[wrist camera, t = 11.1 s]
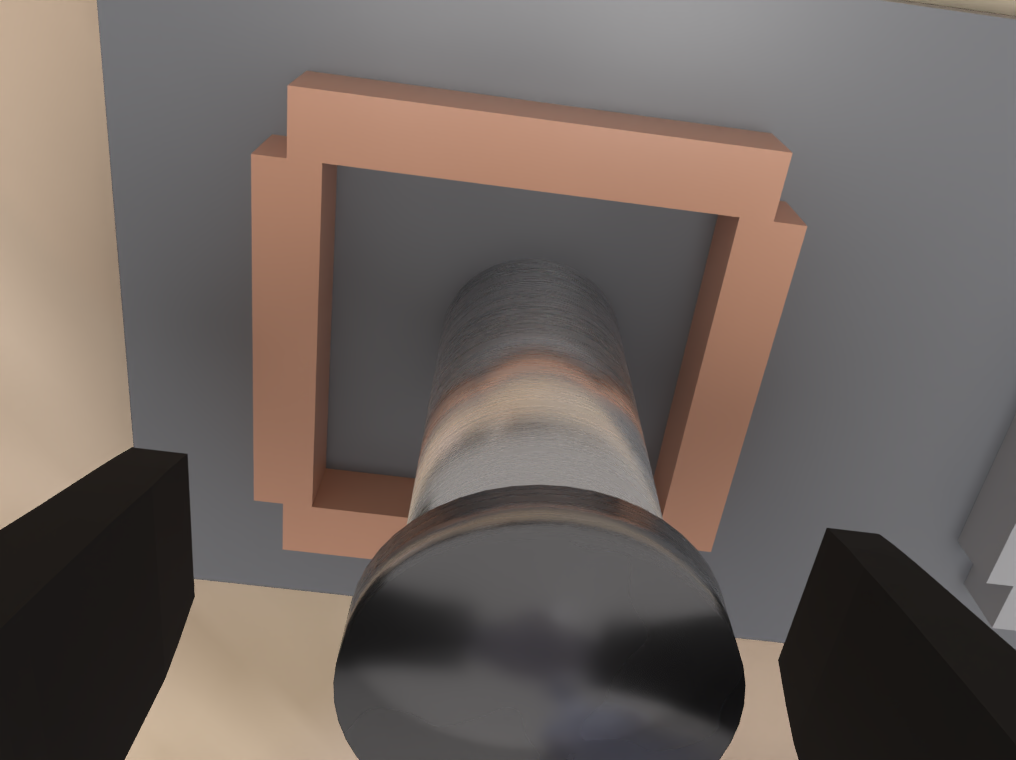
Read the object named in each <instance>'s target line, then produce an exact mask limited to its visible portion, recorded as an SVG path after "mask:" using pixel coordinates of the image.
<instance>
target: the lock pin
mask: <svg viewBox="0 0 1016 760" xmlns="http://www.w3.org/2000/svg"><path fill="white" fill-rule="evenodd" d="M333 684H334V703H335V708H336V712H337V717H338V721H339V724H340V726H341V729H342V731H343V733H344V736H345V738H346V740H347V742H348V744H349V745H350V747H351V748H352V750H353V752H354V753H355V755H356V757H357V758H358V759H359V760H719V759H720V758H721V756H722V755H723V753H724V752H725V750H726V749H727V747H728V746H729V744H730V743H731V741H732V739H733V736H734V734H735V732H736V730H737V727H738V725H739V722H740V718H741V714H742V711H743V707H744V697H745V678H744V669H743V663H742V660H741V657H740V653H739V650H738V646H737V643H736V640H735V636H734V633H733V629H732V626H731V623H730V619H729V616H728V612H727V609H726V606H725V602H724V599H723V596H722V592H721V589H720V586H719V584H718V582H717V580H716V578H715V576H714V574H713V572H712V570H711V568H710V566H709V565H708V564H707V562H706V561H705V559H704V558H703V557H702V555H701V554H700V553H699V551H698V550H697V549H696V548H695V547H694V546H693V545H692V544H691V543H690V542H689V541H688V540H687V539H686V538H685V537H684V536H683V535H682V534H681V533H680V532H678V531H677V530H676V529H675V528H673V527H672V526H671V525H669V524H668V523H667V522H665V521H664V520H663V517H662V513H661V509H660V505H659V500H658V496H657V492H656V487H655V483H654V479H653V475H652V470H651V466H650V462H649V457H648V453H647V449H646V444H645V440H644V436H643V432H642V427H641V423H640V419H639V414H638V410H637V406H636V402H635V397H634V393H633V389H632V384H631V380H630V376H629V372H628V367H627V363H626V359H625V354H624V350H623V346H622V342H621V337H620V333H619V329H618V324H617V321H616V317H615V314H614V311H613V309H612V307H611V305H610V303H609V301H608V300H607V298H606V297H605V295H604V294H603V292H602V291H601V290H600V289H599V288H598V287H597V286H596V284H594V283H593V282H592V281H591V280H590V279H589V278H587V277H586V276H585V275H583V274H581V273H580V272H578V271H577V270H575V269H573V268H570V267H568V266H566V265H563V264H560V263H557V262H553V261H548V260H542V259H520V260H514V261H509V262H505V263H502V264H499V265H495V266H493V267H491V268H489V269H487V270H485V271H483V272H482V273H480V274H478V275H477V276H475V277H474V278H473V279H472V280H470V281H469V282H468V283H467V284H466V285H465V286H464V287H463V288H462V289H461V290H460V291H459V293H458V294H457V295H456V297H455V298H454V300H453V301H452V303H451V305H450V307H449V309H448V311H447V314H446V317H445V320H444V325H443V330H442V336H441V341H440V346H439V352H438V357H437V363H436V368H435V374H434V379H433V385H432V390H431V395H430V401H429V406H428V412H427V417H426V423H425V428H424V434H423V439H422V444H421V450H420V455H419V461H418V466H417V472H416V477H415V483H414V488H413V493H412V499H411V504H410V510H409V515H408V521H407V525H406V526H405V527H403V528H402V529H401V530H399V531H398V532H397V533H395V534H394V535H393V536H392V537H391V538H390V539H389V540H388V541H387V542H386V543H385V544H384V545H383V546H382V547H381V548H380V549H379V550H378V552H377V553H376V554H375V556H374V557H373V558H372V560H371V561H370V562H369V564H368V565H367V566H366V568H365V570H364V572H363V574H362V576H361V578H360V580H359V582H358V584H357V586H356V589H355V592H354V595H353V598H352V601H351V605H350V609H349V613H348V617H347V621H346V626H345V630H344V634H343V638H342V642H341V646H340V650H339V654H338V658H337V663H336V669H335V676H334V683H333Z"/></svg>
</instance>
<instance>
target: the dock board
mask: <svg viewBox="0 0 1016 760" xmlns="http://www.w3.org/2000/svg"><path fill="white" fill-rule="evenodd" d="M97 7H98V20H99V32H100V44H101V56H102V68H103V80H104V92H105V104H106V116H107V129H108V141H109V153H110V165H111V177H112V189H113V201H114V213H115V225H116V238H117V250H118V262H119V274H120V286H121V298H122V310H123V322H124V334H125V346H126V359H127V371H128V383H129V395H130V407H131V419H132V431H133V443H134V448H142V449H151V450H160V451H168V452H177V453H185V454H188V470H189V491H190V512H191V533H192V553H193V574H194V579H201V580H210V581H219V582H228V583H237V584H247V585H256V586H265V587H274V588H283V589H293V590H302V591H311V592H320V593H329V594H339V595H348V596H353V595H354V592H355V589H356V586H357V584H358V582H359V580H360V578H361V576H362V574H363V572H364V570H365V568H366V566H367V565H368V564H369V562H370V561H371V560H372V558H373V557H374V556H375V554H376V553H377V552H378V550H379V549H380V548H381V547H382V546H383V545H384V544H385V543H386V542H387V541H388V540H389V539H390V538H391V537H392V536H393V535H394V534H395V533H397V532H398V531H399V530H401V529H402V528H403V527H405V526H406V525H407V521H408V515H409V510H410V504H411V499H412V493H413V488H414V483H415V477H416V472H417V466H418V461H419V455H420V450H421V444H422V439H423V434H424V428H425V423H426V417H427V412H428V406H429V401H430V395H431V390H432V385H433V379H434V374H435V368H436V363H437V357H438V352H439V346H440V341H441V336H442V330H443V325H444V320H445V317H446V314H447V311H448V309H449V307H450V305H451V303H452V301H453V300H454V298H455V297H456V295H457V294H458V293H459V291H460V290H461V289H462V288H463V287H464V286H465V285H466V284H467V283H468V282H469V281H470V280H472V279H473V278H474V277H475V276H477V275H478V274H480V273H482V272H483V271H485V270H487V269H489V268H491V267H493V266H495V265H499V264H502V263H505V262H509V261H514V260H520V259H542V260H548V261H553V262H557V263H560V264H563V265H566V266H568V267H570V268H573V269H575V270H577V271H578V272H580V273H581V274H583V275H585V276H586V277H587V278H589V279H590V280H591V281H592V282H593V283H594V284H596V286H597V287H598V288H599V289H600V290H601V291H602V292H603V294H604V295H605V297H606V298H607V300H608V301H609V303H610V305H611V307H612V309H613V311H614V314H615V317H616V321H617V324H618V329H619V333H620V337H621V342H622V346H623V350H624V354H625V359H626V363H627V367H628V372H629V376H630V380H631V384H632V389H633V393H634V397H635V402H636V406H637V410H638V414H639V419H640V423H641V427H642V432H643V436H644V440H645V444H646V449H647V453H648V457H649V462H650V466H651V470H652V475H653V479H654V483H655V487H656V492H657V496H658V500H659V505H660V509H661V513H662V517H663V520H664V521H665V522H667V523H668V524H669V525H671V526H672V527H673V528H675V529H676V530H677V531H678V532H680V533H681V534H682V535H683V536H684V537H685V538H686V539H687V540H688V541H689V542H690V543H691V544H692V545H693V546H694V547H695V548H696V549H697V550H698V551H699V553H700V554H701V555H702V557H703V558H704V559H705V561H706V562H707V564H708V565H709V566H710V568H711V570H712V572H713V574H714V576H715V578H716V580H717V582H718V584H719V586H720V589H721V592H722V596H723V599H724V602H725V606H726V609H727V612H728V616H729V619H730V623H731V626H732V629H733V633H734V636H735V638H743V639H753V640H762V641H771V642H780V643H785V640H786V638H787V635H788V632H789V629H790V627H791V624H792V621H793V619H794V616H795V613H796V610H797V608H798V605H799V602H800V599H801V597H802V594H803V591H804V588H805V586H806V583H807V580H808V577H809V575H810V572H811V569H812V567H813V564H814V561H815V558H816V556H817V553H818V550H819V547H820V545H821V542H822V539H823V536H824V534H825V531H826V528H833V529H842V530H851V531H859V532H868V533H876V534H880V535H882V536H883V537H884V538H885V539H887V540H888V541H889V542H891V543H892V544H893V545H895V546H896V547H897V548H898V549H900V550H901V551H902V552H903V553H905V554H906V555H907V556H908V557H909V558H911V559H912V560H913V561H914V562H915V563H917V564H918V565H919V566H920V567H921V568H922V569H923V570H925V571H926V572H927V573H928V574H929V575H930V576H932V577H933V578H934V579H935V580H936V581H937V582H939V583H940V584H941V585H942V586H943V587H944V588H945V589H947V590H948V591H949V592H950V593H951V594H952V595H953V596H955V597H956V598H957V599H958V600H959V601H960V602H961V603H962V604H964V605H965V606H966V607H967V608H968V609H969V610H970V611H972V612H973V613H974V614H975V615H976V616H977V617H978V618H980V619H981V620H982V621H983V622H984V623H985V624H986V625H988V626H989V627H990V628H991V629H992V630H993V631H994V632H996V633H997V634H998V635H999V636H1000V637H1001V638H1003V639H1004V640H1005V641H1006V642H1007V643H1008V644H1010V645H1011V646H1012V647H1013V648H1014V649H1015V650H1016V16H1009V15H1002V14H995V13H988V12H981V11H974V10H967V9H960V8H953V7H946V6H939V5H932V4H924V3H917V2H910V1H903V0H97Z"/></svg>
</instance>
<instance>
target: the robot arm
mask: <svg viewBox="0 0 1016 760" xmlns="http://www.w3.org/2000/svg"><path fill="white" fill-rule="evenodd" d="M194 597H195V595H194V574H193V553H192V533H191V512H190V491H189V470H188V454H185V453H177V452H168V451H160V450H151V449H142V448H134V447H132V448H130V449H128V450H127V451H125V452H123V453H121V454H120V455H118V456H116V457H115V458H113V459H111V460H110V461H108V462H107V463H105V464H103V465H102V466H100V467H99V468H97V469H96V470H94V471H92V472H91V473H89V474H88V475H86V476H85V477H83V478H81V479H80V480H78V481H77V482H75V483H74V484H72V485H71V486H69V487H68V488H66V489H64V490H63V491H61V492H60V493H58V494H57V495H55V496H54V497H52V498H50V499H49V500H47V501H46V502H44V503H43V504H41V505H39V506H38V507H36V508H35V509H33V510H31V511H30V512H28V513H27V514H25V515H23V516H22V517H20V518H19V519H17V520H15V521H14V522H12V523H11V524H9V525H8V526H6V527H4V528H3V529H1V530H0V760H125V758H126V756H127V754H128V752H129V750H130V748H131V746H132V744H133V742H134V740H135V738H136V736H137V734H138V732H139V730H140V728H141V726H142V724H143V722H144V720H145V718H146V716H147V714H148V712H149V710H150V708H151V706H152V704H153V702H154V700H155V698H156V696H157V694H158V692H159V690H160V688H161V686H162V684H163V682H164V680H165V678H166V675H167V672H168V670H169V667H170V664H171V662H172V659H173V656H174V654H175V651H176V648H177V646H178V643H179V640H180V637H181V634H182V631H183V628H184V626H185V623H186V620H187V617H188V614H189V611H190V608H191V605H192V602H193V600H194ZM778 661H779V667H780V673H781V679H782V684H783V690H784V696H785V702H786V707H787V712H788V717H789V722H790V727H791V732H792V737H793V742H794V746H795V749H796V752H797V755H798V759H799V760H1016V650H1015V649H1014V648H1013V647H1012V646H1011V645H1010V644H1008V643H1007V642H1006V641H1005V640H1004V639H1003V638H1001V637H1000V636H999V635H998V634H997V633H996V632H994V631H993V630H992V629H991V628H990V627H989V626H988V625H986V624H985V623H984V622H983V621H982V620H981V619H980V618H978V617H977V616H976V615H975V614H974V613H973V612H972V611H970V610H969V609H968V608H967V607H966V606H965V605H964V604H962V603H961V602H960V601H959V600H958V599H957V598H956V597H955V596H953V595H952V594H951V593H950V592H949V591H948V590H947V589H945V588H944V587H943V586H942V585H941V584H940V583H939V582H937V581H936V580H935V579H934V578H933V577H932V576H930V575H929V574H928V573H927V572H926V571H925V570H923V569H922V568H921V567H920V566H919V565H918V564H917V563H915V562H914V561H913V560H912V559H911V558H909V557H908V556H907V555H906V554H905V553H903V552H902V551H901V550H900V549H898V548H897V547H896V546H895V545H893V544H892V543H891V542H889V541H888V540H887V539H885V538H884V537H883V536H882V535H880V534H876V533H868V532H859V531H851V530H842V529H833V528H826V531H825V534H824V536H823V539H822V542H821V545H820V547H819V550H818V553H817V556H816V558H815V561H814V564H813V567H812V569H811V572H810V575H809V577H808V580H807V583H806V586H805V588H804V591H803V594H802V597H801V599H800V602H799V605H798V608H797V610H796V613H795V616H794V619H793V621H792V624H791V627H790V629H789V632H788V635H787V638H786V640H785V643H784V646H783V649H782V651H781V654H780V657H779V660H778Z"/></svg>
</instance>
